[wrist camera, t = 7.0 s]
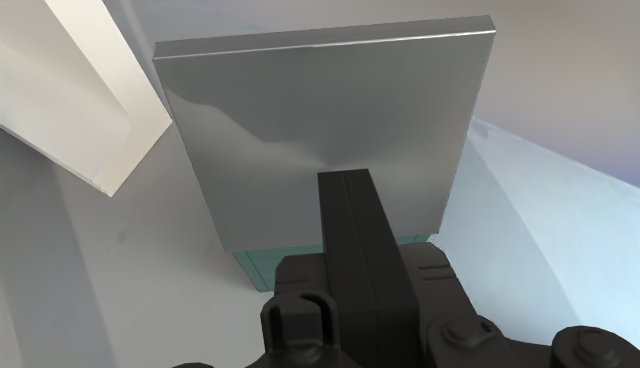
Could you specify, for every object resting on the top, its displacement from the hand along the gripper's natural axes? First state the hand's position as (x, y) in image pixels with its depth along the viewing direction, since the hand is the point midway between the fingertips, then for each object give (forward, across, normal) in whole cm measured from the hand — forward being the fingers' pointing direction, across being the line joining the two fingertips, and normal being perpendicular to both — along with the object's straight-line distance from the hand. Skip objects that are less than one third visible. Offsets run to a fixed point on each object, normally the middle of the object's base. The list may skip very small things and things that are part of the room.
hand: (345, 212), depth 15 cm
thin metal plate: (+6, 0, 0) cm, 6 cm away
